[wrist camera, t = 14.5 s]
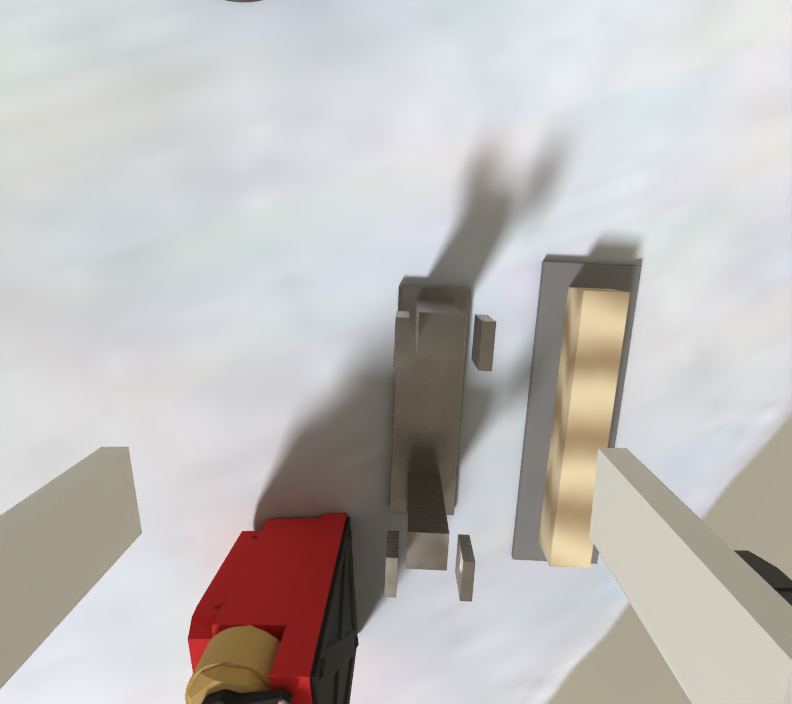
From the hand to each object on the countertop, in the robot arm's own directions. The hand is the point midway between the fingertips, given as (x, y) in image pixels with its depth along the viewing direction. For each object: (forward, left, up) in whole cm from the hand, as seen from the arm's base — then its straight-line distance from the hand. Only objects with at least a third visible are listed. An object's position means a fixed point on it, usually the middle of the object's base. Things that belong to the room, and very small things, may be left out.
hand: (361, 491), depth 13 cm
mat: (+8, +16, -28) cm, 34 cm away
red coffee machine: (+26, -8, -29) cm, 39 cm away
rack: (+7, +3, -28) cm, 29 cm away
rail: (+8, +16, -28) cm, 33 cm away
